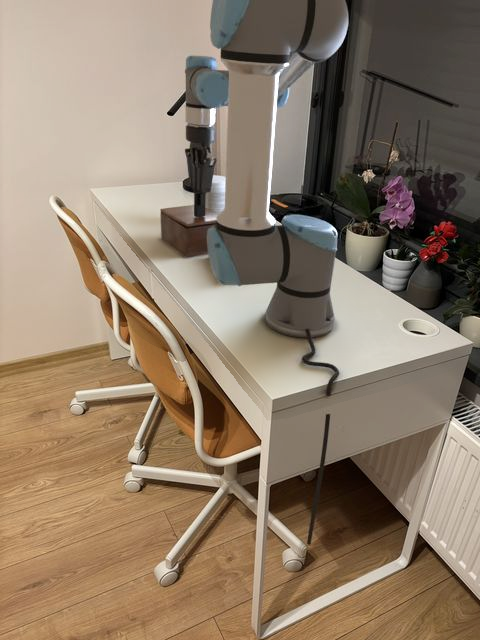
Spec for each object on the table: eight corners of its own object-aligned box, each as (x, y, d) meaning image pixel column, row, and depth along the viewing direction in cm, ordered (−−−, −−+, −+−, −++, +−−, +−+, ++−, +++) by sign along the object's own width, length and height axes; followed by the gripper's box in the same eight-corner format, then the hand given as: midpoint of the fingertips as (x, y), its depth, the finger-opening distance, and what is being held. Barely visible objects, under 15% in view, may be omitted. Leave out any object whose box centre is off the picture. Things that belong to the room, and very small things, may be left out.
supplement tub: (233, 224, 178) (235, 178, 171) (220, 232, 171) (221, 184, 163) (206, 218, 181) (207, 173, 174) (192, 226, 174) (192, 179, 166)
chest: (225, 250, 158) (226, 222, 153) (185, 257, 151) (185, 228, 147) (199, 233, 168) (199, 206, 164) (161, 239, 162) (160, 211, 158)
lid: (227, 221, 153) (227, 218, 152) (187, 227, 146) (187, 224, 146) (199, 206, 164) (199, 204, 164) (160, 211, 158) (160, 208, 157)
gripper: (226, 128, 137) (223, 221, 150) (201, 119, 146) (200, 207, 158) (200, 130, 134) (199, 224, 146) (175, 120, 142) (176, 210, 155)
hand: (199, 215), depth 152 cm, fingers closed
